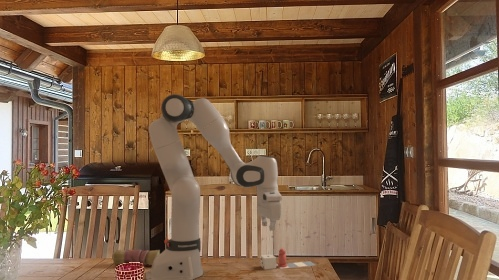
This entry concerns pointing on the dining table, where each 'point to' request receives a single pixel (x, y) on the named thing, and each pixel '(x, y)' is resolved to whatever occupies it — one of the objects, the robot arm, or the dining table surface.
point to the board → (298, 264)
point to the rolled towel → (135, 256)
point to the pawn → (282, 258)
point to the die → (268, 261)
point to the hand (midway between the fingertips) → (268, 228)
